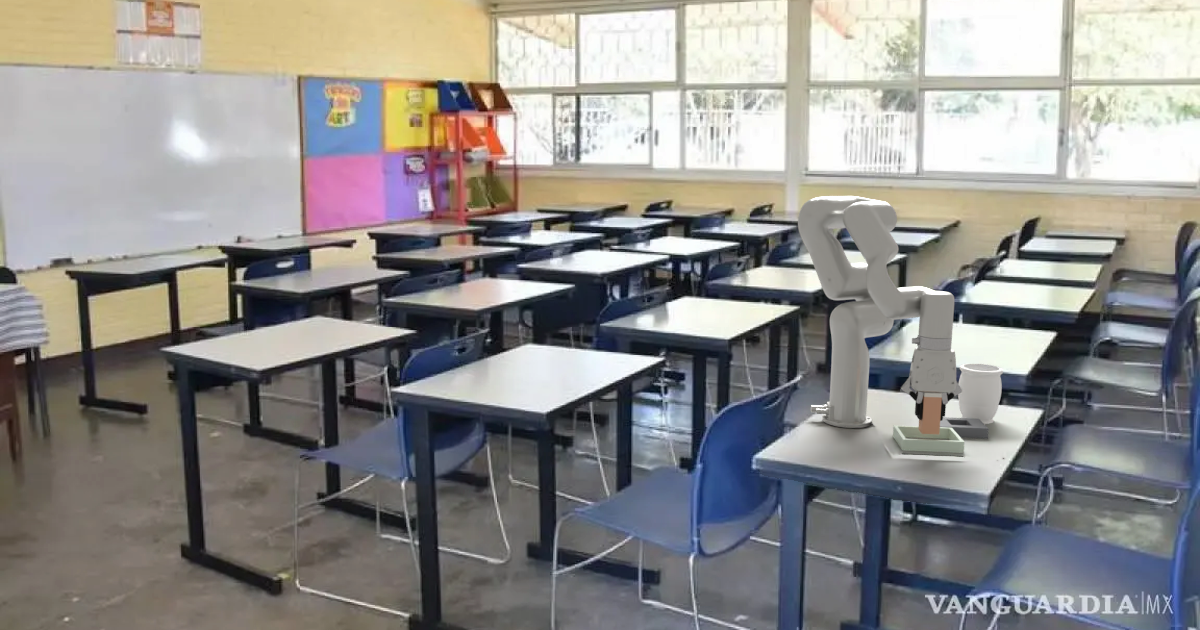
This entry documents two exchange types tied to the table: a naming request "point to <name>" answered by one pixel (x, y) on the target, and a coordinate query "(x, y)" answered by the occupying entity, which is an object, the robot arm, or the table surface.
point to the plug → (931, 413)
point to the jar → (980, 391)
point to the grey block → (966, 427)
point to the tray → (949, 445)
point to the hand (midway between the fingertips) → (929, 418)
